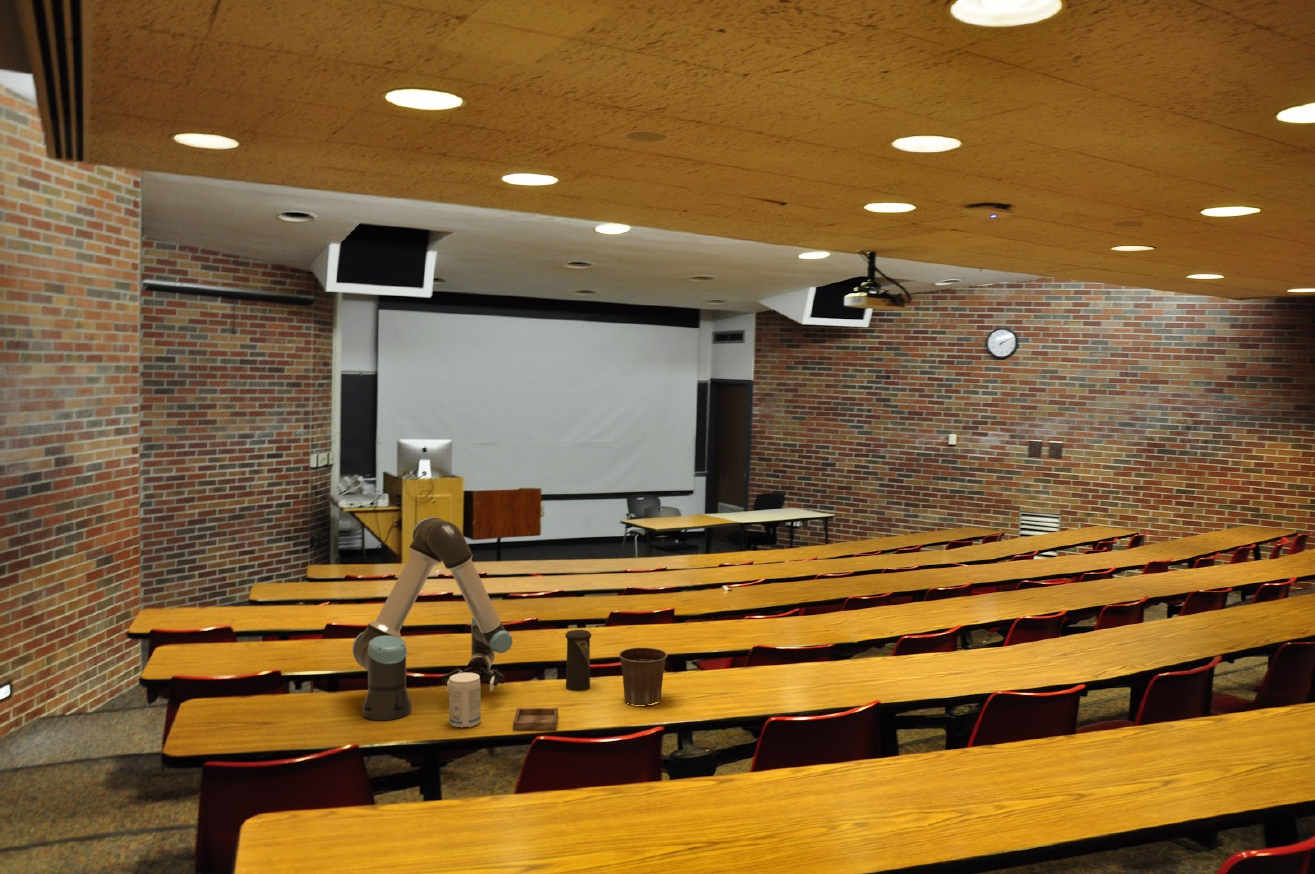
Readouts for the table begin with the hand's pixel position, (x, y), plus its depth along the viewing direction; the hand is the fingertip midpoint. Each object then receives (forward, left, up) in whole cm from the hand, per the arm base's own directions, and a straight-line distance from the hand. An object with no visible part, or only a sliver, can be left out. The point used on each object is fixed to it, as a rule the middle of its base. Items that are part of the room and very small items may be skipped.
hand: (469, 687), depth 296 cm
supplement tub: (0, -10, -8) cm, 13 cm away
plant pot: (+56, +10, -8) cm, 57 cm away
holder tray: (+22, -10, -8) cm, 25 cm away
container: (+34, +25, -8) cm, 43 cm away
